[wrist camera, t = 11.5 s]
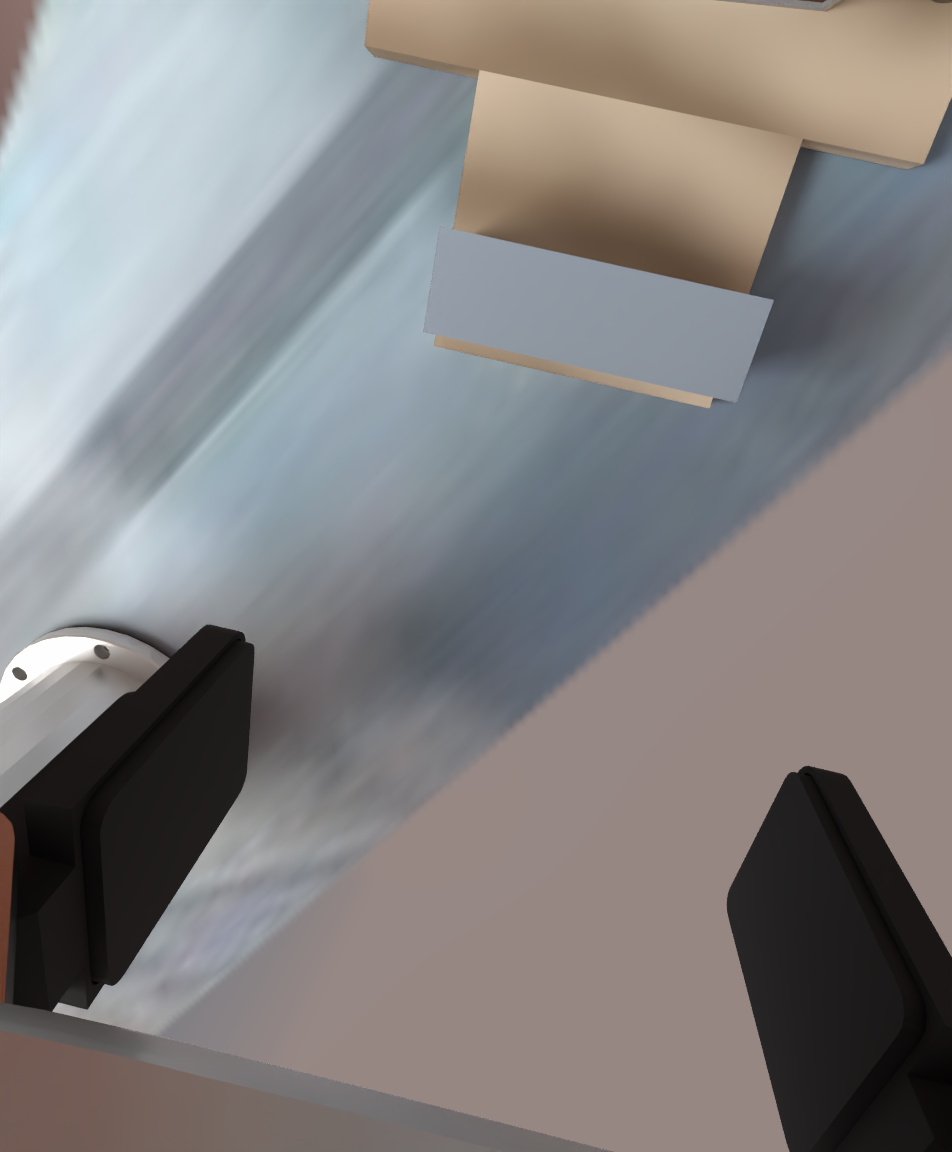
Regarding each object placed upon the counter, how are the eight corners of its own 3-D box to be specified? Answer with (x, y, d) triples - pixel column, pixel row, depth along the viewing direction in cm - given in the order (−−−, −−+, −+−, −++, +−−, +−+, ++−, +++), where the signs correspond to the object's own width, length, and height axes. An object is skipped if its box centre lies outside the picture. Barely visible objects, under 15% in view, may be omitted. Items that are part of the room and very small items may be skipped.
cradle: (801, 425, 27) (851, 456, 22) (345, 321, 27) (298, 330, 23) (1116, -341, 18) (1311, -563, 13) (431, -466, 19) (383, -720, 14)
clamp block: (706, 380, 25) (736, 402, 21) (449, 322, 25) (423, 331, 21) (735, 296, 24) (774, 300, 19) (464, 236, 24) (439, 226, 20)
